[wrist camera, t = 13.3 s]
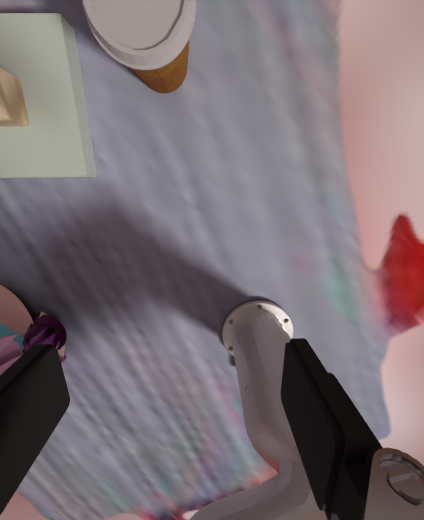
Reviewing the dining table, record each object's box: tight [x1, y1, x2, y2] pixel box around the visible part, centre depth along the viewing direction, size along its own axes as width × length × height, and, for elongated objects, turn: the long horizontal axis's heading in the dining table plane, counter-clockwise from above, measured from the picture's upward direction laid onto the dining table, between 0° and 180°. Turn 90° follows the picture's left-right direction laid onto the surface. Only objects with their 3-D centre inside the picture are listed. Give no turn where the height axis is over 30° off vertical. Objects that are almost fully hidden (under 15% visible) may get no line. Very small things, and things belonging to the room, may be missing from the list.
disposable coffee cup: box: [82, 0, 196, 93], centre depth 24 cm, size 10×10×12 cm
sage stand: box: [0, 13, 97, 179], centre depth 29 cm, size 17×17×3 cm
